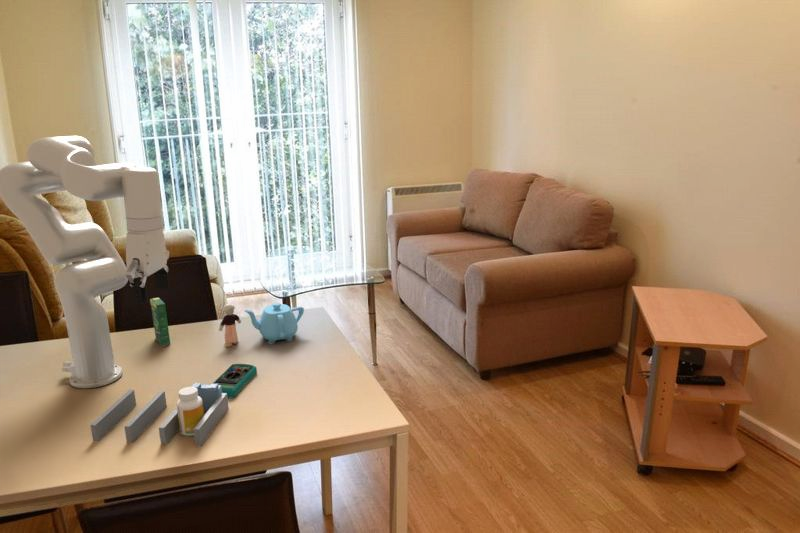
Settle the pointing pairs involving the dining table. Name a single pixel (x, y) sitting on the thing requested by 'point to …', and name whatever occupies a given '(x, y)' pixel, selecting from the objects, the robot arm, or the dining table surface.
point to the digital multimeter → (235, 378)
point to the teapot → (277, 322)
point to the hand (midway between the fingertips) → (151, 295)
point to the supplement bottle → (189, 410)
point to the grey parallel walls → (211, 401)
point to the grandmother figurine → (230, 325)
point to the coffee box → (160, 321)
